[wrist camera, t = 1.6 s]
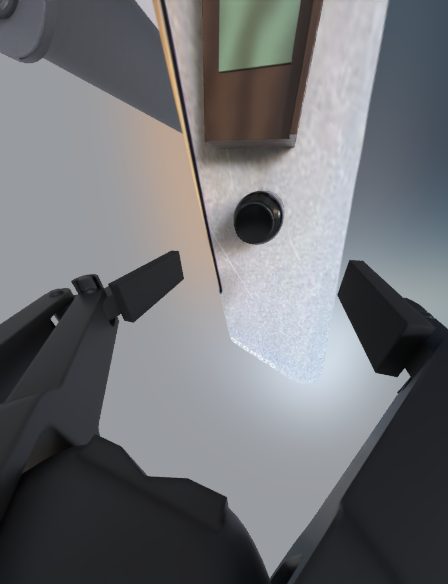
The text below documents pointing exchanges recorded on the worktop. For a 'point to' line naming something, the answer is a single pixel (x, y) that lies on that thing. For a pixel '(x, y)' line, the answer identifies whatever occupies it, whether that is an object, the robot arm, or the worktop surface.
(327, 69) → the worktop surface
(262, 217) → the supplement bottle
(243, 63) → the wooden plaque with label
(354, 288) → the robot arm
